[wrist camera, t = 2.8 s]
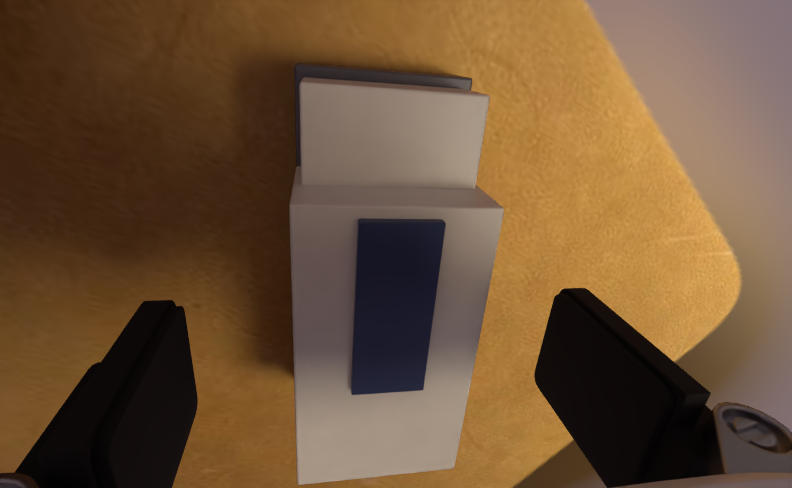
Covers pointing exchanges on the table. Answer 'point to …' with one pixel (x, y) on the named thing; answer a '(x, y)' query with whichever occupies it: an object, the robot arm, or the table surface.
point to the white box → (386, 268)
